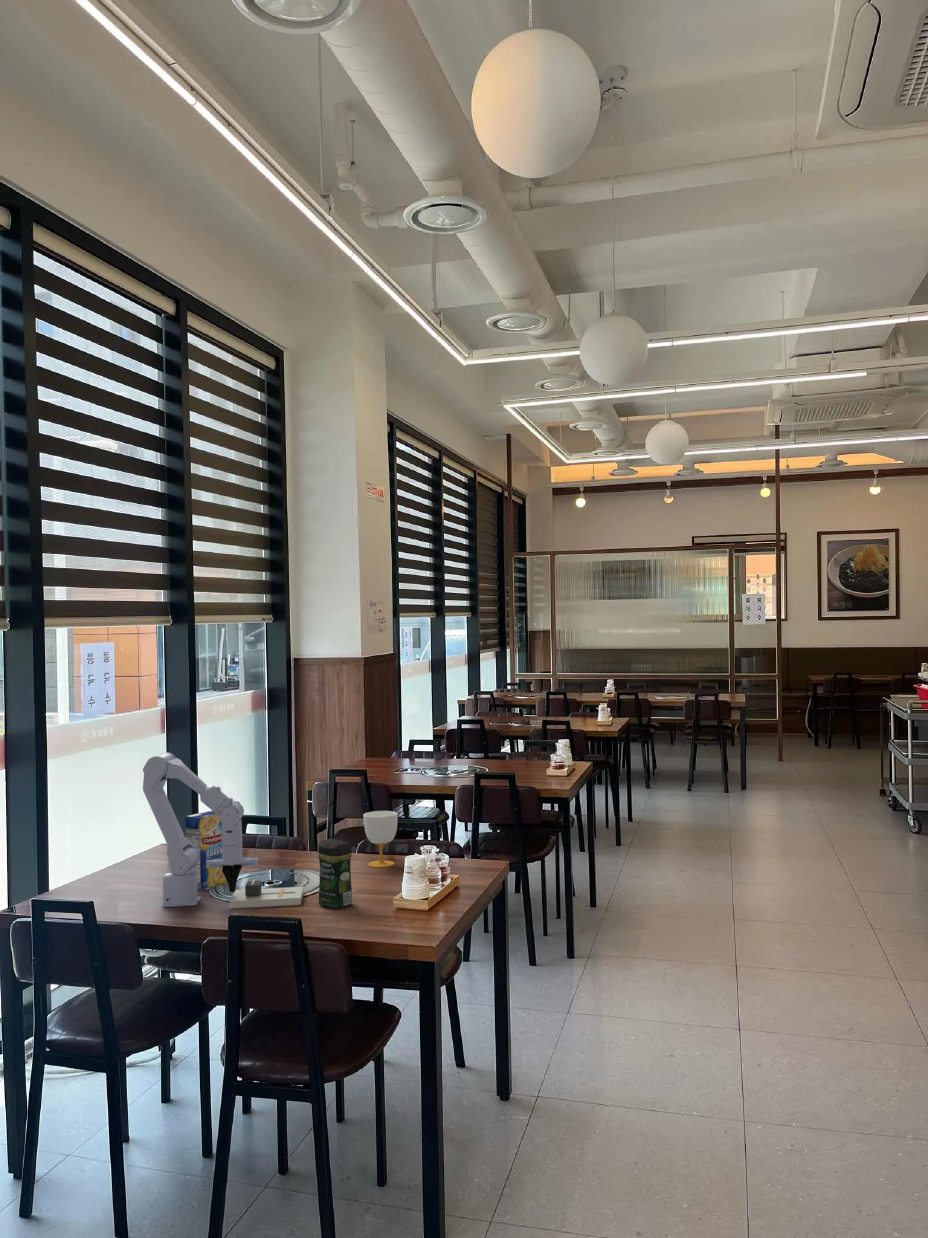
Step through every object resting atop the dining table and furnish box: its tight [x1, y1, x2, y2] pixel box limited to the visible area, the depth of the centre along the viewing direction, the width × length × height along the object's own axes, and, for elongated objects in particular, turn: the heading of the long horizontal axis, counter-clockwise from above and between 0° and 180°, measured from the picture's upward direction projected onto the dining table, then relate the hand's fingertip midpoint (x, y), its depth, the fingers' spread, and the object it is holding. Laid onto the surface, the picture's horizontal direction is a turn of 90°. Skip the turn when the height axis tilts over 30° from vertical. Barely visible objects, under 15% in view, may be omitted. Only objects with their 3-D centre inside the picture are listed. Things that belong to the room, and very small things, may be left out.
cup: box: [362, 810, 399, 869], centre depth 305 cm, size 12×12×17 cm
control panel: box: [229, 886, 304, 909], centre depth 263 cm, size 20×12×2 cm, turn 96°
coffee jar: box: [317, 838, 353, 910], centre depth 258 cm, size 10×8×19 cm
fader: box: [244, 879, 262, 896], centre depth 263 cm, size 4×5×3 cm
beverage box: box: [184, 810, 227, 891], centre depth 283 cm, size 7×11×22 cm, turn 147°
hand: (232, 891), depth 262 cm, fingers closed
